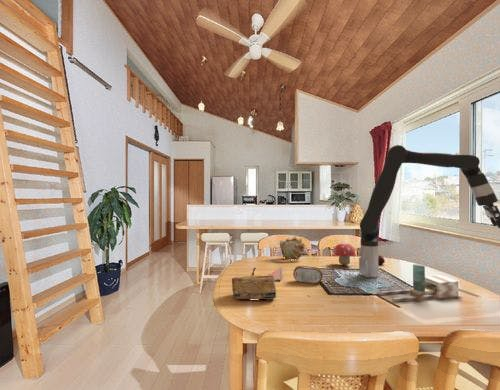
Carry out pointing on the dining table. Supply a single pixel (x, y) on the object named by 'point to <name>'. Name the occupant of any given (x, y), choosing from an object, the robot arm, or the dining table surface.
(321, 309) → the dining table surface
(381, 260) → the potato
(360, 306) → the dining table surface
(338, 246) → the decorative mushroom
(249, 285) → the petrified wood
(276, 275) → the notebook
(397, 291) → the tunnel track
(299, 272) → the tin
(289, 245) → the olive rough rounded lump
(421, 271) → the block with teal grip
